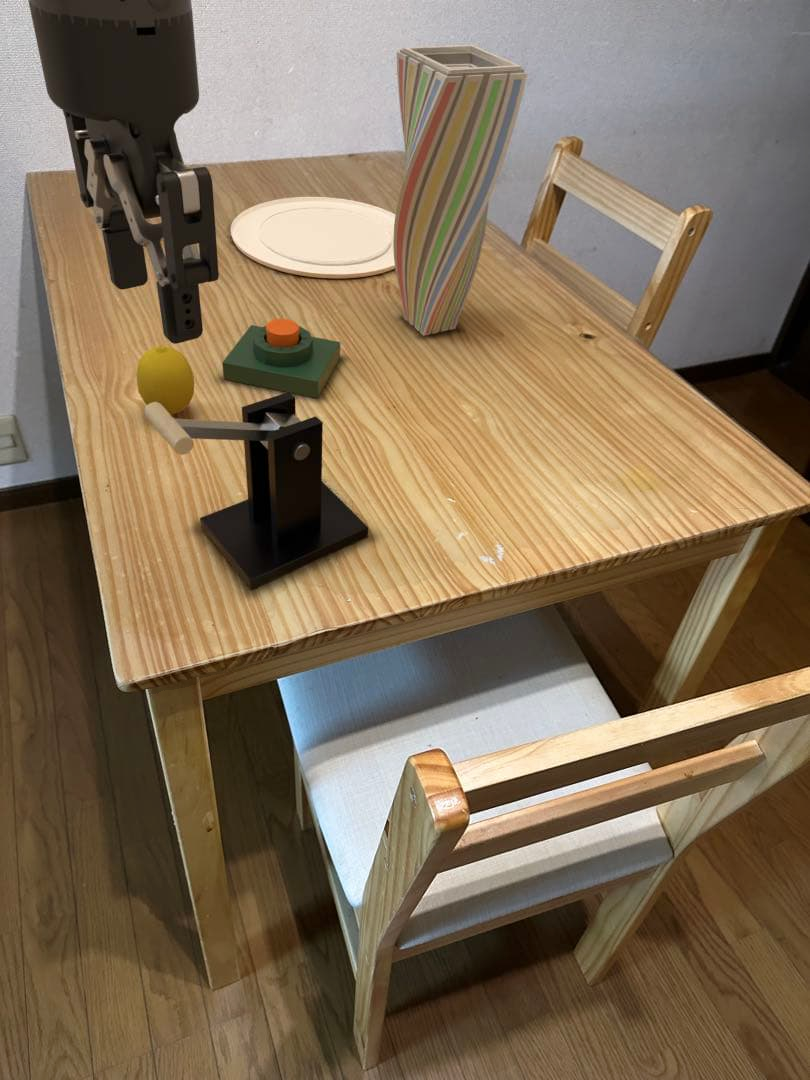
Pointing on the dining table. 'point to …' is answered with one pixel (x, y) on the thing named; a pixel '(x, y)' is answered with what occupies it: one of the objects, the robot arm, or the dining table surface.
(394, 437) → the dining table surface
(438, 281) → the vase
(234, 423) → the lever
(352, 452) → the dining table surface
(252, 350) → the button box
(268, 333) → the button
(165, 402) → the lemon
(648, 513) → the dining table surface
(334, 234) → the plate
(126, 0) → the robot arm
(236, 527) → the bracket
